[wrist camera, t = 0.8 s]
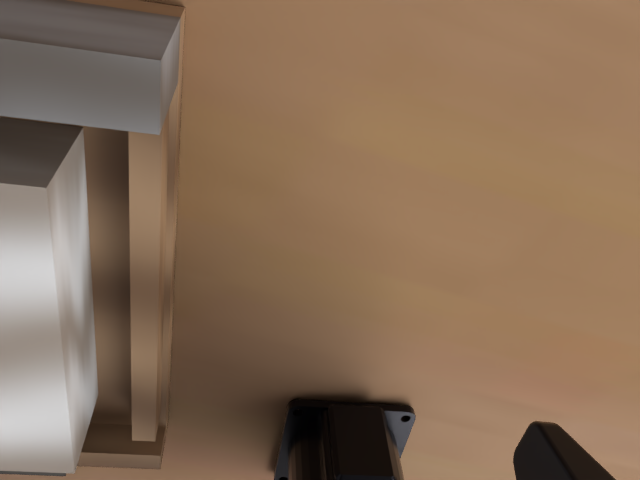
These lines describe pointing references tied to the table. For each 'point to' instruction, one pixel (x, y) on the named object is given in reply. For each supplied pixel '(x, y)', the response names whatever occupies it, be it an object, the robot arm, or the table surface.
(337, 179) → the table surface
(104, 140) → the rail board
